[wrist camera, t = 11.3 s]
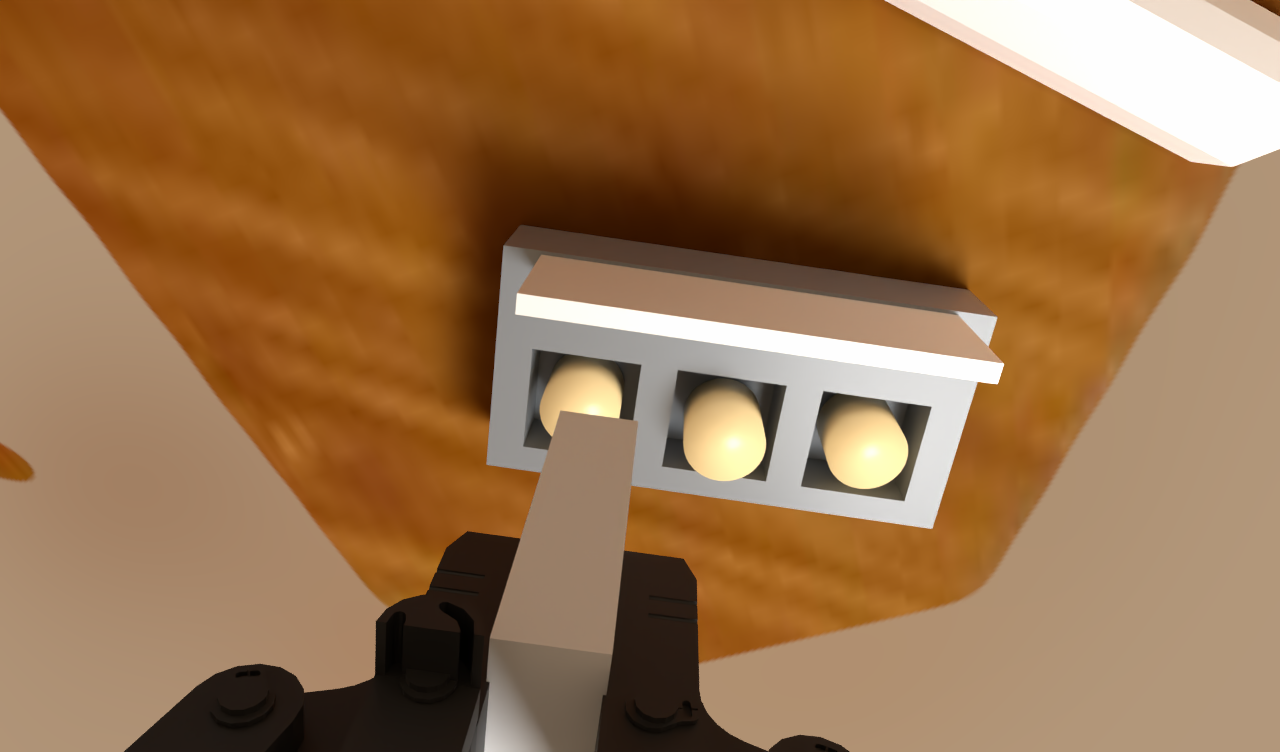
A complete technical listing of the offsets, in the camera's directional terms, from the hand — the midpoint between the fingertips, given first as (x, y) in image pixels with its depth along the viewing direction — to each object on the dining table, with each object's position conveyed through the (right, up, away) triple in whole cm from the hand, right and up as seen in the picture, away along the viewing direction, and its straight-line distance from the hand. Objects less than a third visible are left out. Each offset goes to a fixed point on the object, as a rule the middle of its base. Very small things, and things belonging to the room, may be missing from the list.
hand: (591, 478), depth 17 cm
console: (+6, +3, +35) cm, 36 cm away
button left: (-2, +2, +34) cm, 35 cm away
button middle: (+6, 0, +33) cm, 34 cm away
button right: (+14, -1, +35) cm, 37 cm away
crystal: (+23, +21, +28) cm, 42 cm away
